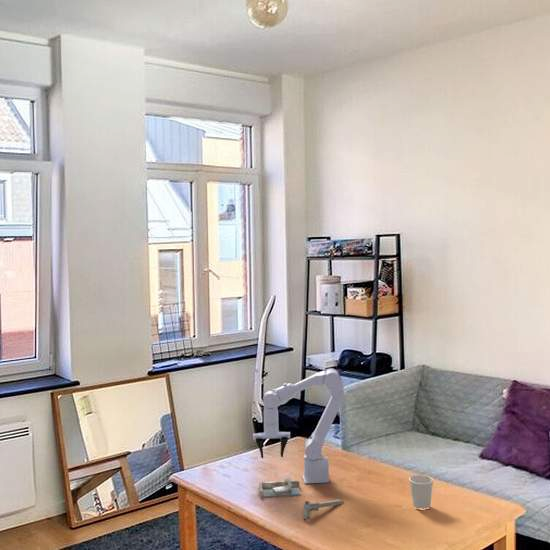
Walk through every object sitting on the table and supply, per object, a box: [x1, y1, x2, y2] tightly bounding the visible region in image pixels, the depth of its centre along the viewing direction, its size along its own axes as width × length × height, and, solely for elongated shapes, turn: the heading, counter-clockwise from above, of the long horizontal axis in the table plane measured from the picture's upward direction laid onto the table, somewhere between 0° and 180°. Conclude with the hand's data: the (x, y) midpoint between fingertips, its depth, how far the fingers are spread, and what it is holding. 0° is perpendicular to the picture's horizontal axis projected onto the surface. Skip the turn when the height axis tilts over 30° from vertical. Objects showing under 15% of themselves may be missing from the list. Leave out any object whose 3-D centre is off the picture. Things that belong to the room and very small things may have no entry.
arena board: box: [262, 486, 302, 498], centre depth 247 cm, size 14×8×1 cm, turn 95°
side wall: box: [258, 482, 263, 499], centre depth 246 cm, size 1×8×2 cm, turn 6°
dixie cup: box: [408, 474, 435, 509], centre depth 230 cm, size 8×8×10 cm
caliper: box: [302, 499, 344, 520], centre depth 229 cm, size 20×1×6 cm, turn 135°
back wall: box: [259, 479, 301, 488], centre depth 251 cm, size 15×1×2 cm, turn 95°
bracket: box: [272, 476, 292, 494], centre depth 246 cm, size 6×4×4 cm, turn 109°
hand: (271, 456), depth 259 cm, fingers open, 7 cm apart
